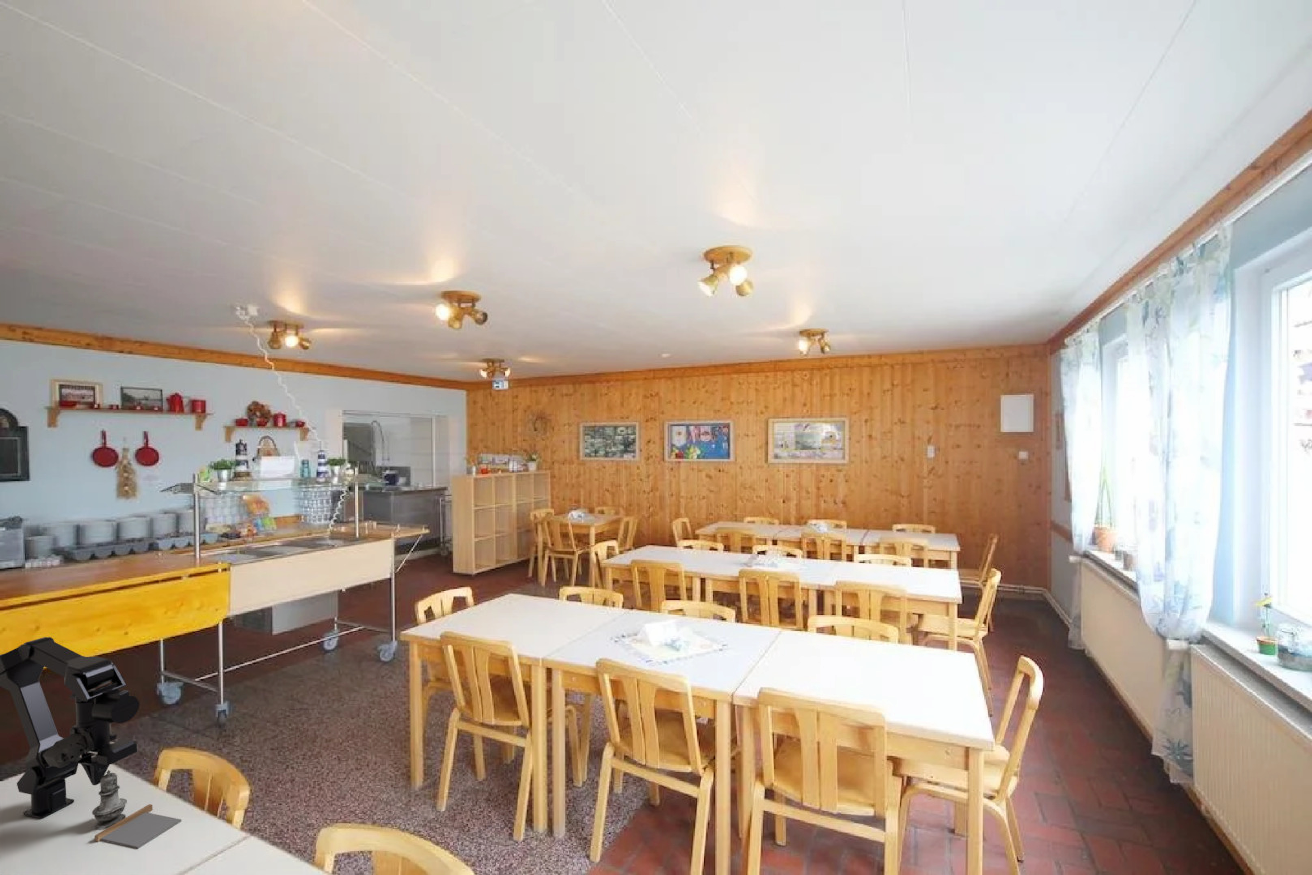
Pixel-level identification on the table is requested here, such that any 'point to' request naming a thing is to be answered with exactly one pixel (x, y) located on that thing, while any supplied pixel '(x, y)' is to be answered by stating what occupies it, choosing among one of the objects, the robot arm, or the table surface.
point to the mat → (141, 830)
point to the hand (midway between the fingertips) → (96, 784)
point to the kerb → (123, 822)
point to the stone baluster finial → (109, 803)
